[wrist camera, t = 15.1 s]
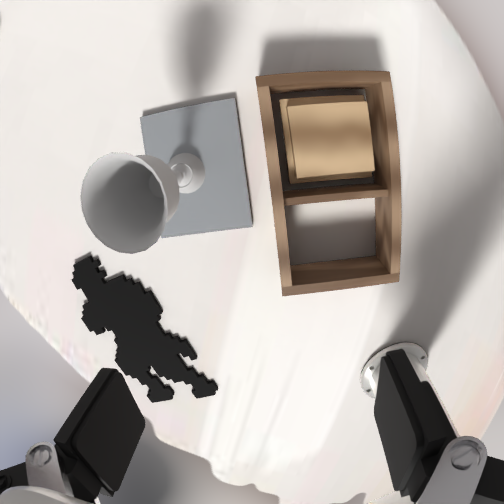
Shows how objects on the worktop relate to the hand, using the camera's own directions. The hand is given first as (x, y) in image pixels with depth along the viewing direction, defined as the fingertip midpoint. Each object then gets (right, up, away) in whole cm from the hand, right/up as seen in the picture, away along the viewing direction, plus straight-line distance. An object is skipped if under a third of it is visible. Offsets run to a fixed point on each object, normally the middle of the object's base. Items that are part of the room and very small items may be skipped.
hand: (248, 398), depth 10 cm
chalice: (-8, +15, +27) cm, 32 cm away
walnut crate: (+9, +14, +27) cm, 32 cm away
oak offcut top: (+9, +18, +23) cm, 31 cm away
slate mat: (-7, +15, +27) cm, 32 cm away
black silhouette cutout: (-19, -9, +37) cm, 43 cm away
